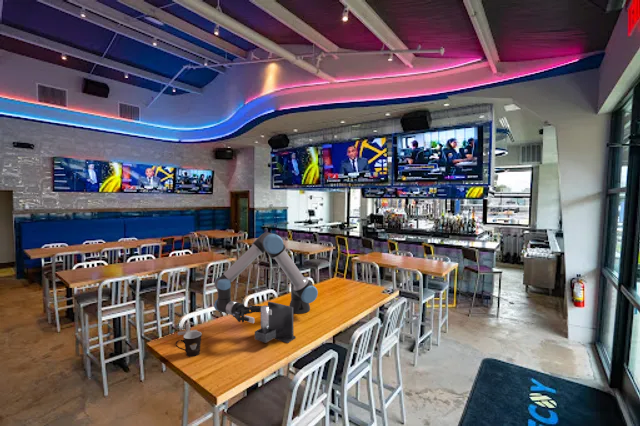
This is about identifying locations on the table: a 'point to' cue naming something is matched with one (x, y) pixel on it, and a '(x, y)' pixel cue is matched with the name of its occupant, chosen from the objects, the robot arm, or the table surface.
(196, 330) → the pipe connector
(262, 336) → the cup bracket
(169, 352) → the table surface
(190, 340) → the coffee mug
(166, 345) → the table surface
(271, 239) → the robot arm
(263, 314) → the rail post
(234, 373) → the table surface
